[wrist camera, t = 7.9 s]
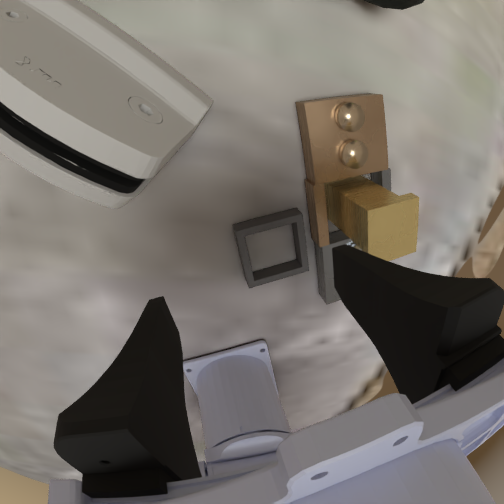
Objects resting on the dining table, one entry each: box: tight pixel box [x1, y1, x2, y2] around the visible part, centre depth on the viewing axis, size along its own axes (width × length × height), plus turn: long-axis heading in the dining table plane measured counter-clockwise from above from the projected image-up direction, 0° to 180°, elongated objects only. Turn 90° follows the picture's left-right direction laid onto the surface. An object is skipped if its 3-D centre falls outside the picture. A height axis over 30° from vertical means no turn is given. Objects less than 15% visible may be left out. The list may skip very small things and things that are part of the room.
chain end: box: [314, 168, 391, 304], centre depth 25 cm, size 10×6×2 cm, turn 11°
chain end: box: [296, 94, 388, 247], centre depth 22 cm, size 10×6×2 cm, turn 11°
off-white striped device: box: [0, 0, 213, 209], centre depth 13 cm, size 17×5×10 cm, turn 47°
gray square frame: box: [233, 208, 309, 288], centre depth 24 cm, size 5×5×1 cm
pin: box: [324, 175, 419, 261], centre depth 21 cm, size 4×4×7 cm
